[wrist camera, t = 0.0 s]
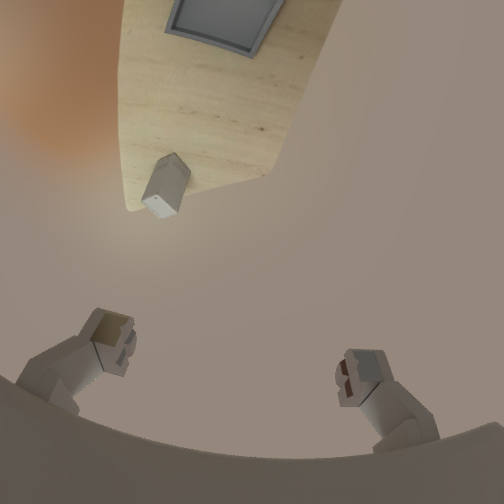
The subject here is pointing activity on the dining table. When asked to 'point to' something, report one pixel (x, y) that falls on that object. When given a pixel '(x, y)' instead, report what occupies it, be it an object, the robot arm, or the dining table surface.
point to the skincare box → (166, 186)
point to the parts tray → (224, 22)
